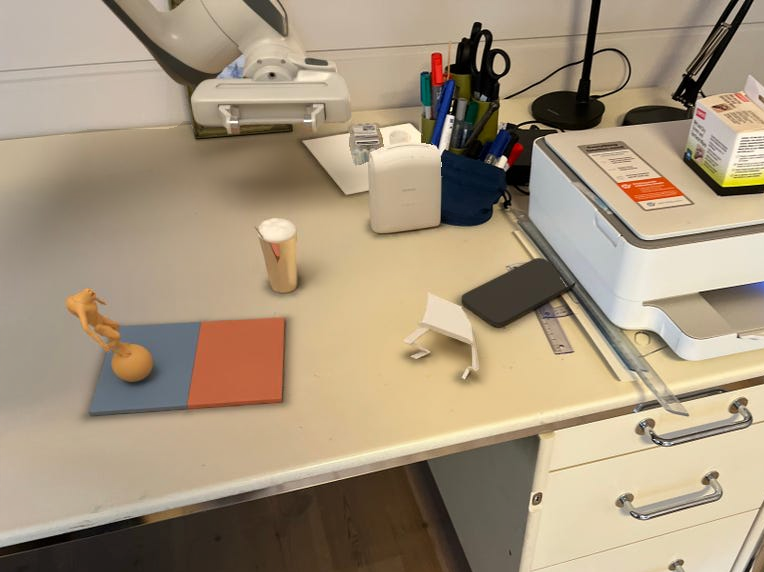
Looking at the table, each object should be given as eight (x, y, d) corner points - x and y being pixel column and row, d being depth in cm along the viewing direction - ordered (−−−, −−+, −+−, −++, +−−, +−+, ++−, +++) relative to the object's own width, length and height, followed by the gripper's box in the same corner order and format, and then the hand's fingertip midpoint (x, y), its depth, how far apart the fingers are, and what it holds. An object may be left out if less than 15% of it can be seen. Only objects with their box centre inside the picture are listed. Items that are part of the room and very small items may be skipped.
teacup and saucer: (382, 173, 119) (381, 149, 117) (362, 152, 125) (361, 128, 122) (431, 163, 123) (432, 140, 120) (410, 143, 128) (410, 120, 125)
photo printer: (373, 237, 105) (371, 155, 97) (367, 221, 108) (363, 140, 100) (444, 228, 108) (447, 148, 100) (435, 213, 111) (438, 134, 103)
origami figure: (385, 345, 88) (384, 312, 84) (436, 316, 93) (437, 283, 89) (458, 398, 82) (460, 364, 79) (509, 363, 87) (513, 330, 83)
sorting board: (90, 416, 76) (88, 411, 76) (116, 330, 87) (114, 326, 86) (281, 402, 80) (281, 398, 79) (284, 321, 90) (284, 317, 90)
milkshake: (253, 290, 94) (241, 220, 88) (284, 271, 98) (275, 203, 91) (278, 303, 92) (269, 233, 86) (310, 284, 96) (303, 215, 89)
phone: (457, 296, 94) (539, 255, 102) (457, 301, 95) (538, 260, 103) (497, 325, 91) (580, 280, 99) (497, 330, 91) (579, 285, 99)
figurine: (161, 397, 78) (133, 305, 70) (98, 412, 76) (62, 318, 68) (152, 349, 84) (125, 258, 76) (93, 361, 82) (59, 269, 74)
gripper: (192, 62, 100) (179, 104, 90) (347, 61, 103) (351, 102, 93) (201, 108, 104) (189, 153, 94) (349, 106, 108) (354, 149, 97)
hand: (271, 127), depth 94 cm, fingers open, 8 cm apart
